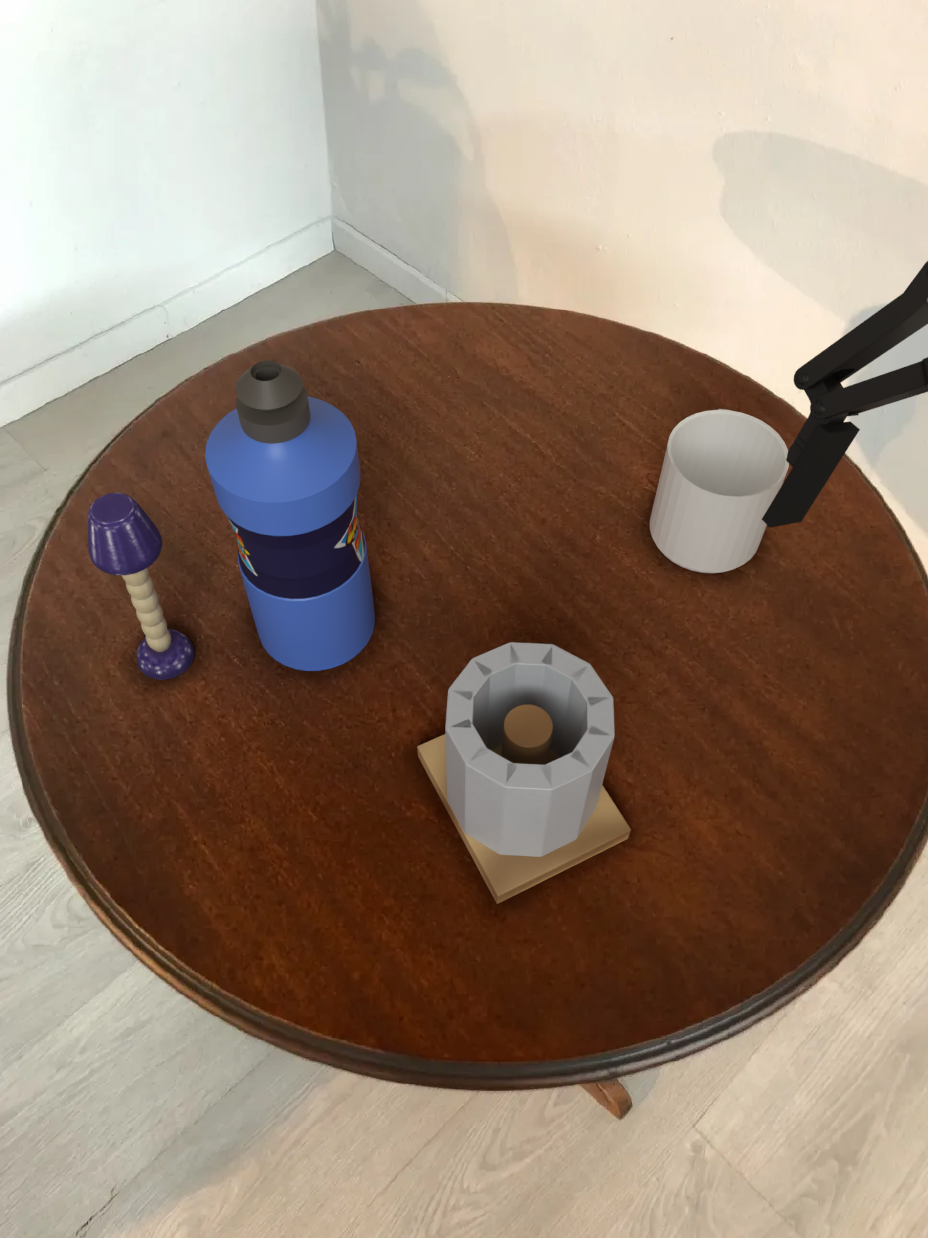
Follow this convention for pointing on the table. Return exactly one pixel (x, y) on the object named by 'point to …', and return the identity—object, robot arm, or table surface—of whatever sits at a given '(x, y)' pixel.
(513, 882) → the stand
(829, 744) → the table surface
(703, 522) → the mug
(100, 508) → the toy lamp
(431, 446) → the table surface
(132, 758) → the table surface
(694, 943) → the table surface
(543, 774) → the silver tape
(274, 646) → the water bottle
